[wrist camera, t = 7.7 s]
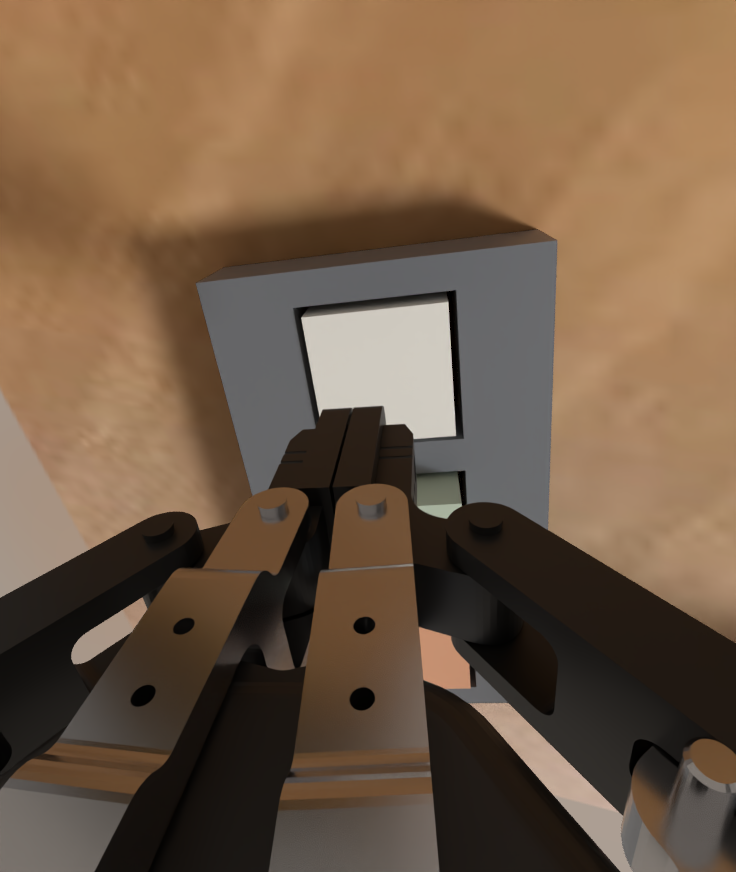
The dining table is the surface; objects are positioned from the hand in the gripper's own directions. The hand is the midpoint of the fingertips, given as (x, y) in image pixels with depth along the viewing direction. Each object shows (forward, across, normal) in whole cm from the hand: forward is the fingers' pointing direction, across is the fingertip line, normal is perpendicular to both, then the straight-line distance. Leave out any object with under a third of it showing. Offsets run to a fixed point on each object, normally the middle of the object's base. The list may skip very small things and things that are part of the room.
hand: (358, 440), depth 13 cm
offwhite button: (+9, 0, +1) cm, 9 cm away
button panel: (+9, 0, +8) cm, 12 cm away
